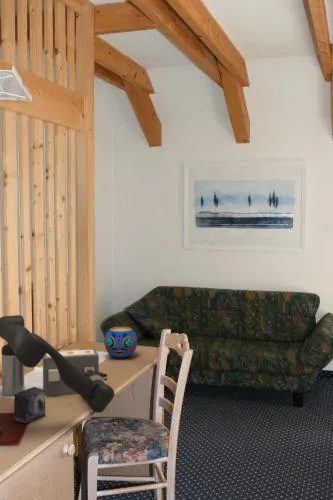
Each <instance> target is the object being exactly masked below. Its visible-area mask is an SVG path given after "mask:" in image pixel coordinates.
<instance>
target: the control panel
mask: <svg viewBox="0 0 333 500" xmlns="http://www.w3.org/2000/svg"><path fill="white" fill-rule="evenodd" d="M58 352H59V353H60V354H61V355H62V356H64V357H65V358H66V359H67V360H68V361H69V362H70V363H71V364H72V365H73V366H74V367H77V369H78V370H80V371H81V372H82V373H84V367H85V366H95V372H100V371H99V370H100V368H99V367H100V363H99V362H100V361H99V360H100V359H99V358H100V355H99V354H98V351H97V350H96V349H83V350H65V351H64V350H63V351H58ZM48 369H57V366H56V364H55V362H54V360H53V359H52V358H51V356H50V355H48V354H47V353H46V354H45V355H44V357H43V358H42V389H44V390H45V397H51V396H52V397H53V396H61V395H62V396H64V395H76V394H77V395H78V393H76V392H75V391H73V390H72V389H71V388H69V387H68V386H67V385H66V384H65V383H64V382H63V381H62V379H61V377H60V374H59V381H49V380H48Z"/></svg>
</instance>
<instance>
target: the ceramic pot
mask: <svg viewBox="0 0 333 500" xmlns="http://www.w3.org/2000/svg"><path fill="white" fill-rule="evenodd" d="M137 336H138V335H137V333H136V332H135V330H134V329H133V328H131V327H129V326H114V327H111V328H110V329H109V330H107V332H105V336H104V343H103V344H104V348H105V350H106V352H107V354H108V355H110V356H111V357H114V358H119V359H123V358H127V357H131V355H133V354H134V353H135V351H136V350H137V346H138V337H137Z"/></svg>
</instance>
